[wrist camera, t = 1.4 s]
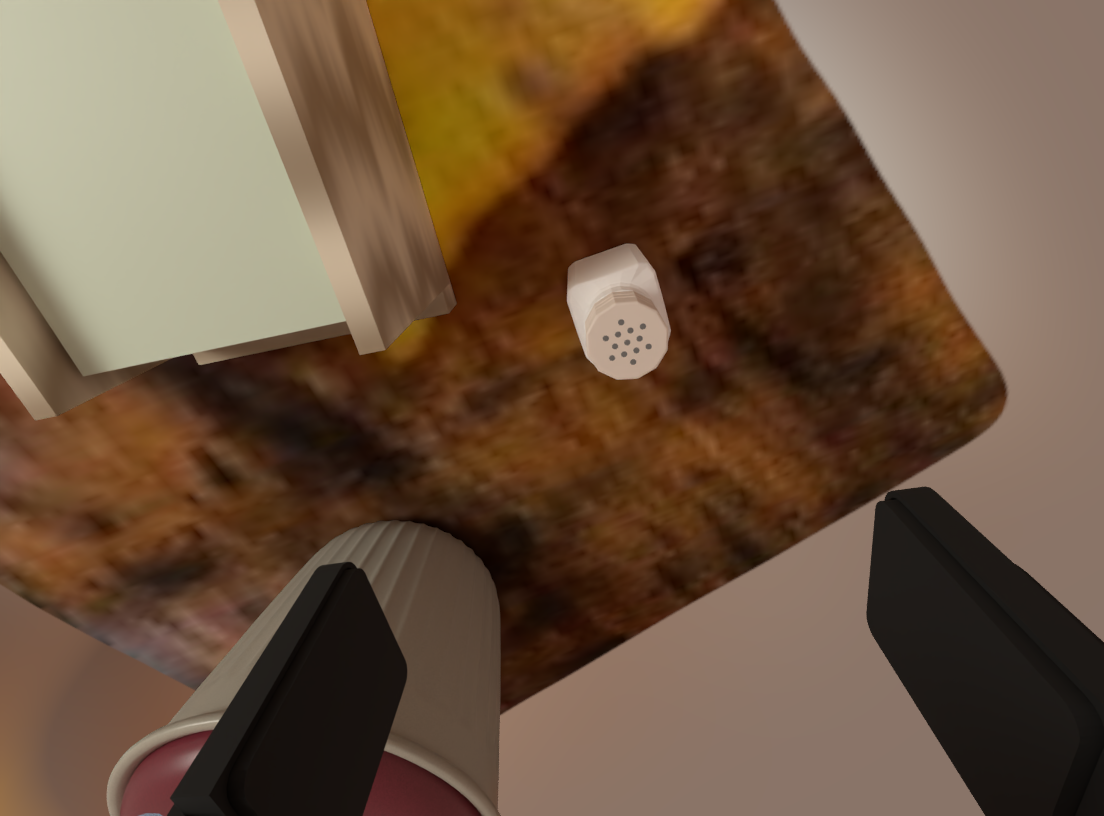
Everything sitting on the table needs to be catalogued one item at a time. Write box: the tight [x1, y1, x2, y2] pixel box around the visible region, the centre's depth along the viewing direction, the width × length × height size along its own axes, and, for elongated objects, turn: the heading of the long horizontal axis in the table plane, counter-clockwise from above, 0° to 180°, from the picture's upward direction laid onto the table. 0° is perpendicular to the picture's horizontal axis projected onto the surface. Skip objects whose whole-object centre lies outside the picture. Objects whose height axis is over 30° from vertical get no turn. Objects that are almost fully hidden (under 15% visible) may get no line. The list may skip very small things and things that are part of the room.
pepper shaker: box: [567, 244, 671, 380], centre depth 24 cm, size 4×4×10 cm
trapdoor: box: [0, 0, 346, 376], centre depth 18 cm, size 14×12×2 cm
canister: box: [107, 520, 501, 816], centre depth 29 cm, size 18×18×21 cm
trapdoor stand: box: [0, 0, 457, 420], centre depth 21 cm, size 18×15×11 cm
